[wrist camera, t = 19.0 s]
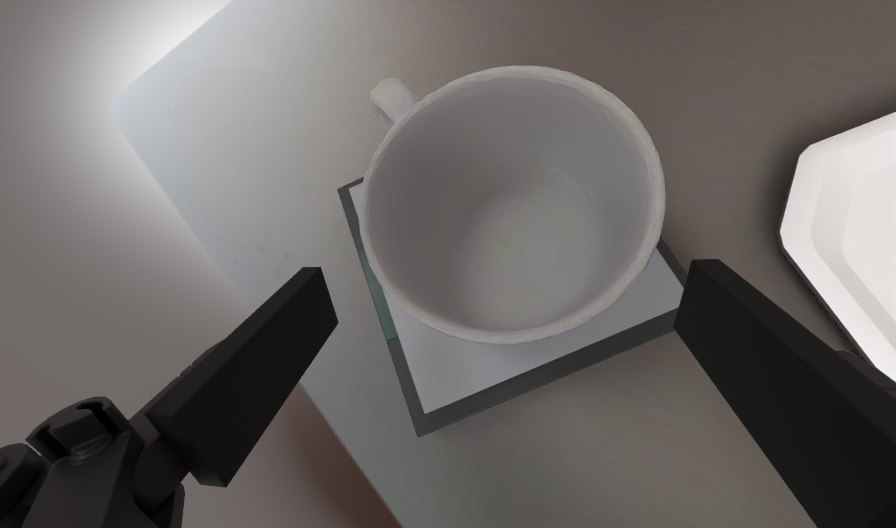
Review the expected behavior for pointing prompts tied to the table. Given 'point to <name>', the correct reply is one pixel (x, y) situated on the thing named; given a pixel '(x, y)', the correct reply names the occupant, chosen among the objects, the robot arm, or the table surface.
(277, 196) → the table surface
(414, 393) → the scale
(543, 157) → the teacup
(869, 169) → the plate
